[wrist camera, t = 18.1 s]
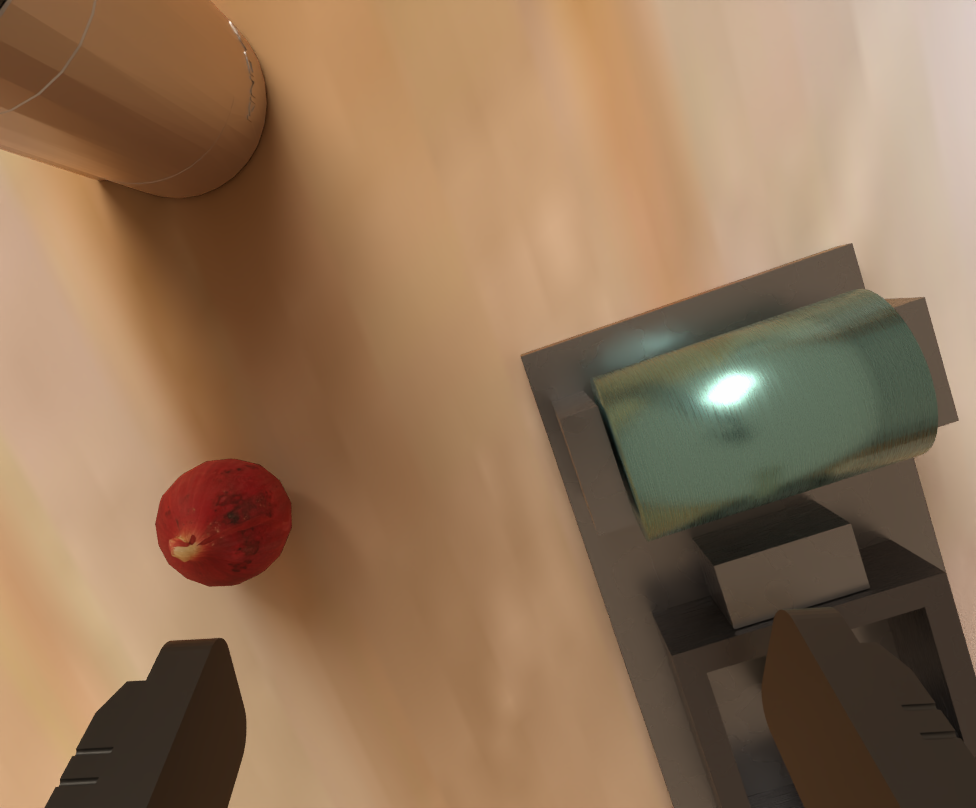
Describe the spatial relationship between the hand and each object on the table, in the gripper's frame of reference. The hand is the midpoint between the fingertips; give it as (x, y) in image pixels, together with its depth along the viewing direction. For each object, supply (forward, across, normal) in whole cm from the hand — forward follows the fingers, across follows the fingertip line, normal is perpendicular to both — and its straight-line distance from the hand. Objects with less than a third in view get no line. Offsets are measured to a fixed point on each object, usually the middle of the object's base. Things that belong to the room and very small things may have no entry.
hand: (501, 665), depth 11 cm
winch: (+21, -14, +16) cm, 30 cm away
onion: (+24, +12, +13) cm, 29 cm away
